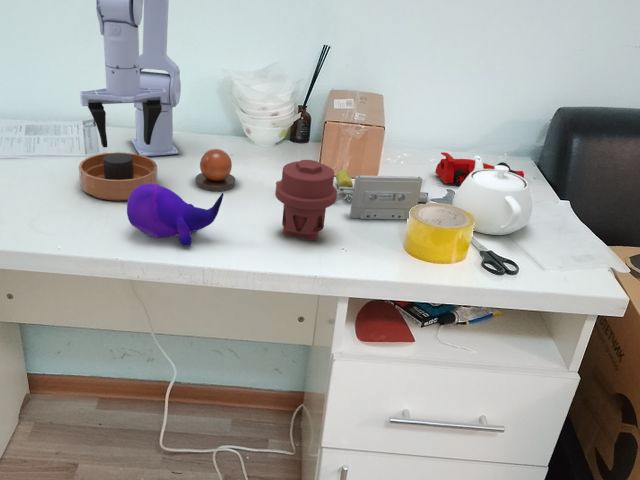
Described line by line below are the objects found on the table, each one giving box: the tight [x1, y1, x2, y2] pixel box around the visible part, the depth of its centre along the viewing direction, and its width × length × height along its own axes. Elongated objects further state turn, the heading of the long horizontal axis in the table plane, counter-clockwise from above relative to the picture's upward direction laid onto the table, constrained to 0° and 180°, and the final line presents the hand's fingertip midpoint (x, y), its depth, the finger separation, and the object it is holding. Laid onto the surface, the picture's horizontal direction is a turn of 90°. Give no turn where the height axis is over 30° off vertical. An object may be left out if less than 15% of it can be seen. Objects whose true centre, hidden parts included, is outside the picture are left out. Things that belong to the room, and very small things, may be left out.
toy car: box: [434, 151, 525, 187], centre depth 146 cm, size 6×18×5 cm, turn 99°
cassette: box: [349, 175, 424, 220], centre depth 127 cm, size 12×2×8 cm, turn 96°
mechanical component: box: [275, 159, 338, 242], centre depth 118 cm, size 12×10×10 cm
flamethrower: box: [275, 169, 429, 203], centre depth 137 cm, size 29×3×10 cm
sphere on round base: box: [194, 148, 236, 192], centre depth 136 cm, size 8×8×7 cm
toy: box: [126, 184, 225, 247], centre depth 116 cm, size 9×10×15 cm
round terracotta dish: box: [78, 151, 159, 202], centre depth 132 cm, size 14×14×4 cm
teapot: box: [451, 155, 533, 236], centre depth 127 cm, size 22×14×11 cm, turn 5°
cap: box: [103, 152, 134, 180], centre depth 132 cm, size 5×5×5 cm
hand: (126, 144), depth 128 cm, fingers open, 7 cm apart
